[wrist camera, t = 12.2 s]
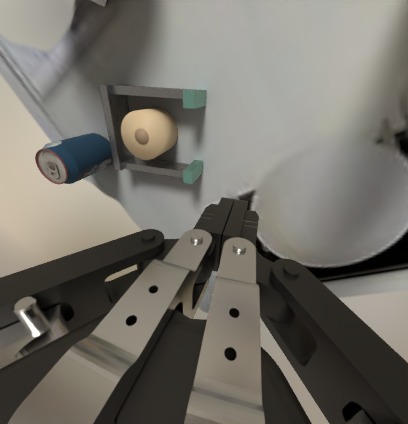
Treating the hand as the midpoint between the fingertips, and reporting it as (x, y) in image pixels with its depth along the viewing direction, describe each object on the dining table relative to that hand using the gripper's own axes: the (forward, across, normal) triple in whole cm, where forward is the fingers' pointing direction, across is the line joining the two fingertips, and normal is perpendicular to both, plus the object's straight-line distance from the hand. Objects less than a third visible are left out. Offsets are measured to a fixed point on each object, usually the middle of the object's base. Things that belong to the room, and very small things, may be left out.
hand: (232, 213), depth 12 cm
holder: (+25, +17, +1) cm, 30 cm away
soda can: (+25, +31, +6) cm, 40 cm away
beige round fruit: (+25, +18, +1) cm, 31 cm away
